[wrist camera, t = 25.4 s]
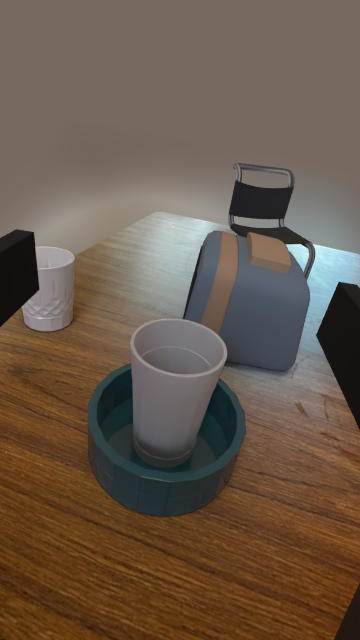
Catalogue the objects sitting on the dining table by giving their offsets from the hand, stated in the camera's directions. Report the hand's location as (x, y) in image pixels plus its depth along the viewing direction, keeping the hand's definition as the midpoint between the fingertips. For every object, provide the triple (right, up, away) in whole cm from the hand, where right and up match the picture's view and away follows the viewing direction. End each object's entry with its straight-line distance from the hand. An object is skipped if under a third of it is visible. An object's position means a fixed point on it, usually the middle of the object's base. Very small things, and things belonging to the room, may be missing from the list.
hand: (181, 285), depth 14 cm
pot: (-2, -14, +19) cm, 24 cm away
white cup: (-20, -2, +35) cm, 40 cm away
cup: (-2, -14, +19) cm, 24 cm away
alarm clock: (+8, -4, +38) cm, 39 cm away
